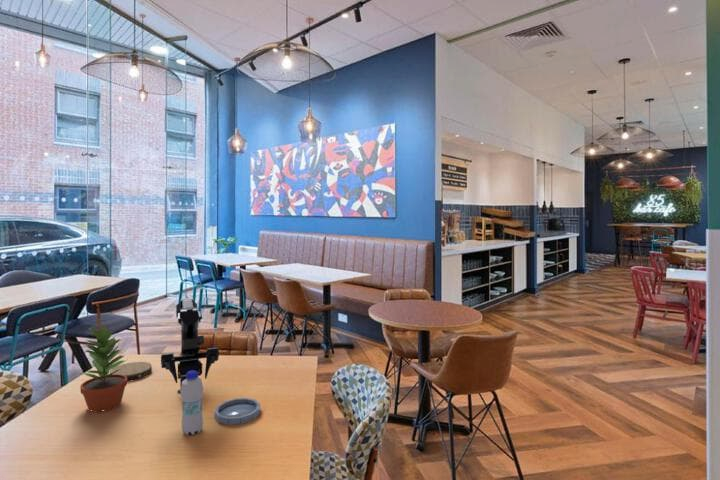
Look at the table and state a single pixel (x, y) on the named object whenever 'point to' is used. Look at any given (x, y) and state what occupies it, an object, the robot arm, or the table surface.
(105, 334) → the potted plant
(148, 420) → the table surface
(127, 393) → the table surface
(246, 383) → the table surface
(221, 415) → the bowl
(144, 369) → the wood slice
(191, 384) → the bottle
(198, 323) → the robot arm
